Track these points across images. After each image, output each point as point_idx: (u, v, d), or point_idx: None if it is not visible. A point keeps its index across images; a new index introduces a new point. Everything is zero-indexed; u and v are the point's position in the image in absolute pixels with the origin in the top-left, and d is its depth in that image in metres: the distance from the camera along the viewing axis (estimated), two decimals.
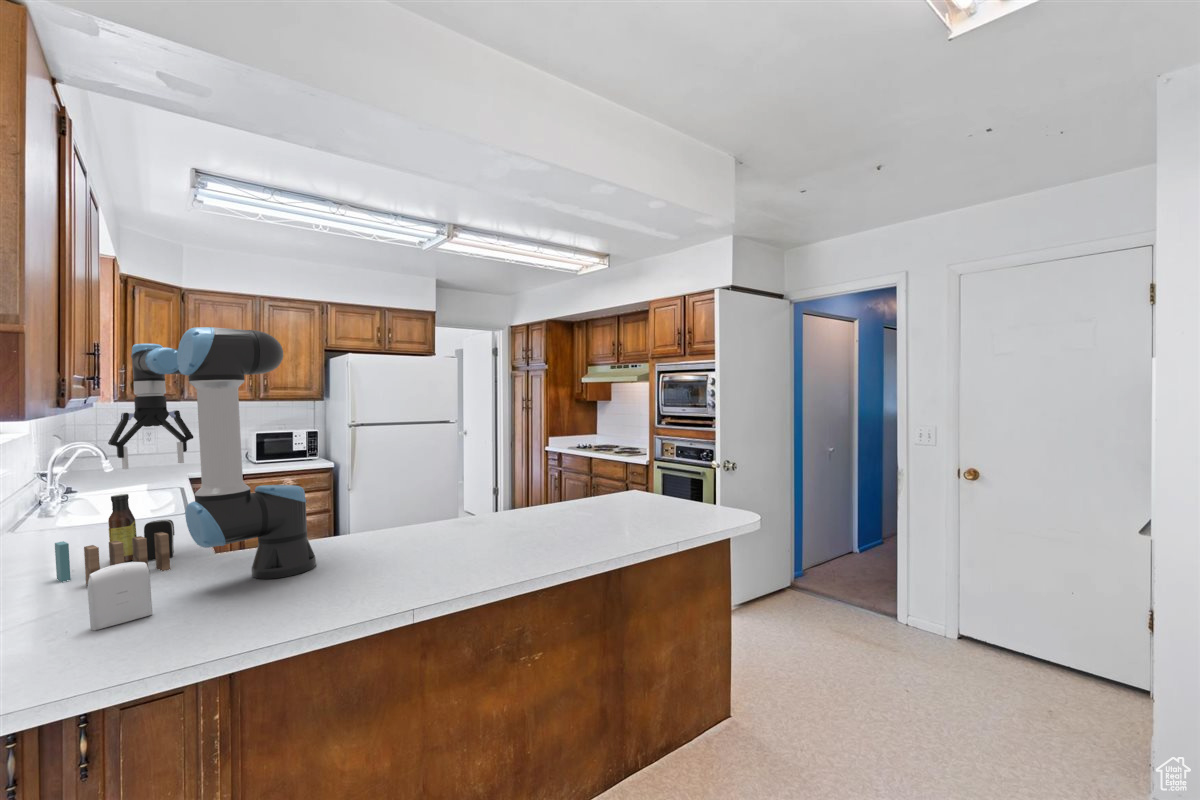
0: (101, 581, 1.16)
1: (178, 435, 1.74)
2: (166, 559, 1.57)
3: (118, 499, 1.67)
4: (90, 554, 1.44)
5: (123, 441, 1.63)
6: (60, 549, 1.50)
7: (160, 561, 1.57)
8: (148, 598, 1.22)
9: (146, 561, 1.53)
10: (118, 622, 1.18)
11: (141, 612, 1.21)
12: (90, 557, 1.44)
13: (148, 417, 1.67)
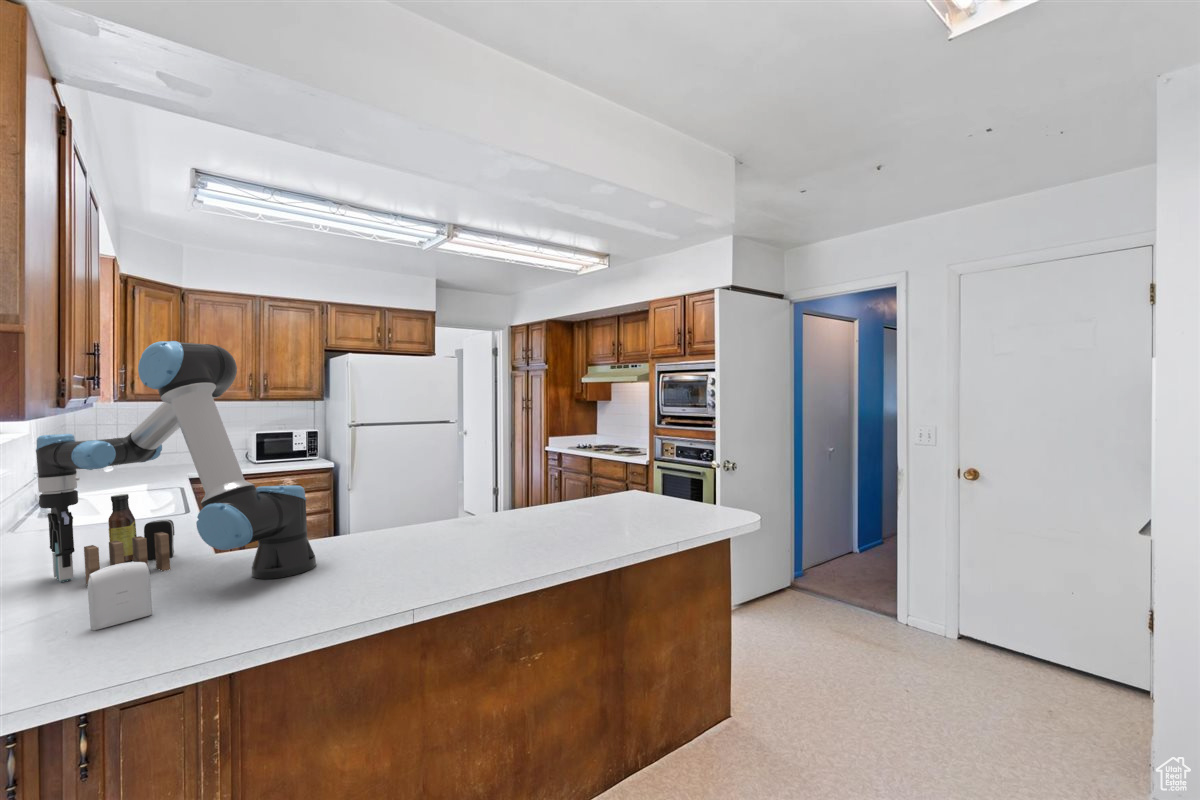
0: (101, 581, 1.16)
1: (58, 546, 1.49)
2: (166, 559, 1.57)
3: (118, 499, 1.67)
4: (90, 554, 1.44)
5: (52, 546, 1.53)
6: None
7: (160, 561, 1.57)
8: (148, 598, 1.22)
9: (146, 561, 1.53)
10: (118, 622, 1.18)
11: (141, 612, 1.21)
12: (90, 557, 1.44)
13: (48, 516, 1.51)
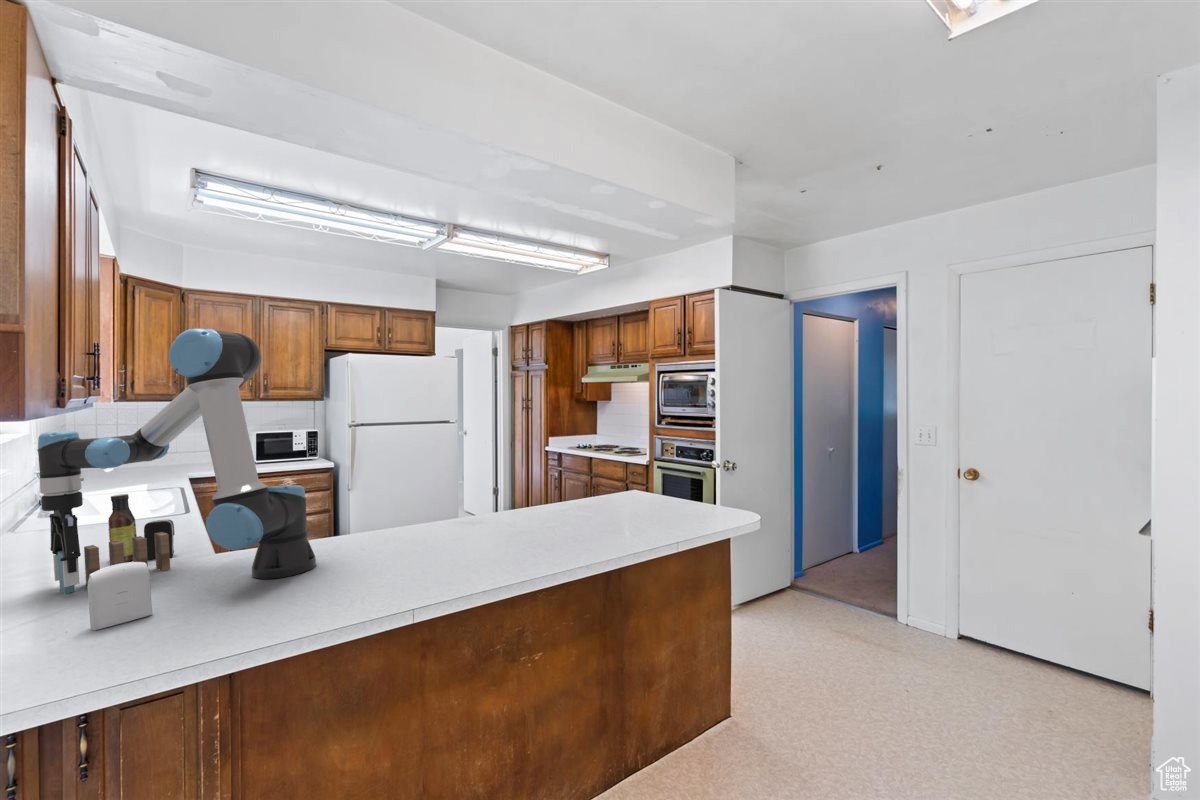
0: (101, 581, 1.16)
1: (63, 550, 1.38)
2: (166, 559, 1.57)
3: (118, 499, 1.67)
4: (90, 554, 1.44)
5: (53, 548, 1.44)
6: None
7: (160, 561, 1.57)
8: (148, 598, 1.22)
9: (146, 561, 1.53)
10: (118, 622, 1.18)
11: (141, 612, 1.21)
12: (90, 557, 1.44)
13: (51, 519, 1.41)
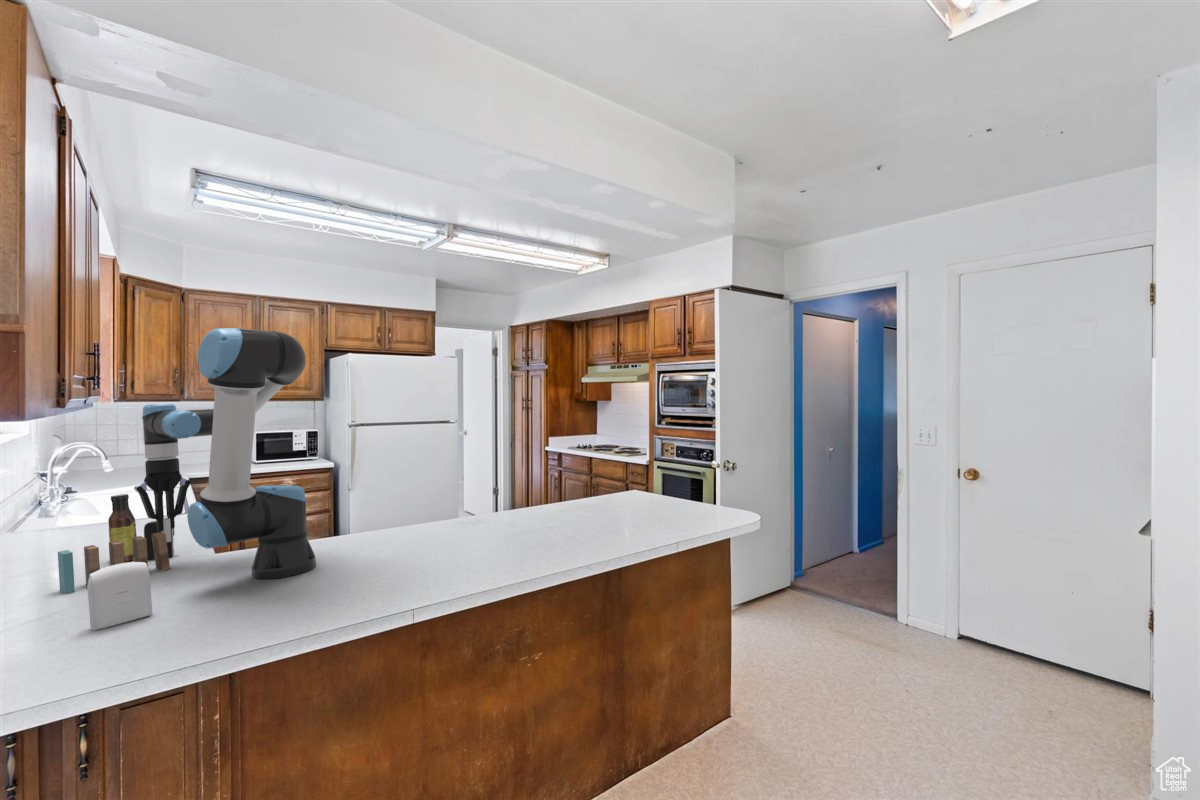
0: (101, 581, 1.16)
1: (170, 508, 1.59)
2: (165, 559, 1.57)
3: (118, 499, 1.67)
4: (90, 554, 1.44)
5: (160, 514, 1.57)
6: (63, 558, 1.40)
7: (160, 561, 1.57)
8: (148, 598, 1.22)
9: (146, 561, 1.53)
10: (118, 622, 1.18)
11: (141, 612, 1.21)
12: (90, 557, 1.44)
13: (160, 482, 1.57)
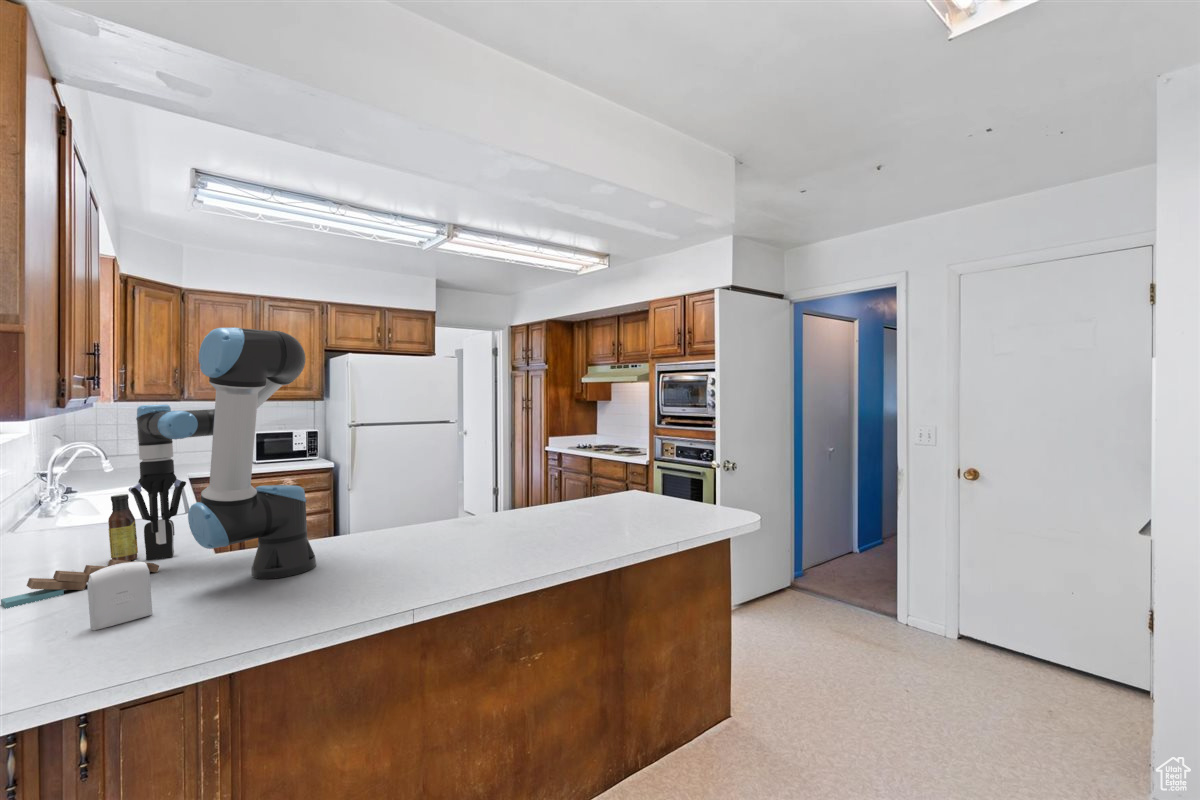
0: (101, 581, 1.16)
1: (165, 509, 1.58)
2: None
3: (118, 499, 1.67)
4: (39, 588, 1.36)
5: (154, 515, 1.56)
6: None
7: None
8: (148, 598, 1.22)
9: None
10: (118, 622, 1.18)
11: (141, 612, 1.21)
12: (43, 588, 1.37)
13: (155, 483, 1.56)
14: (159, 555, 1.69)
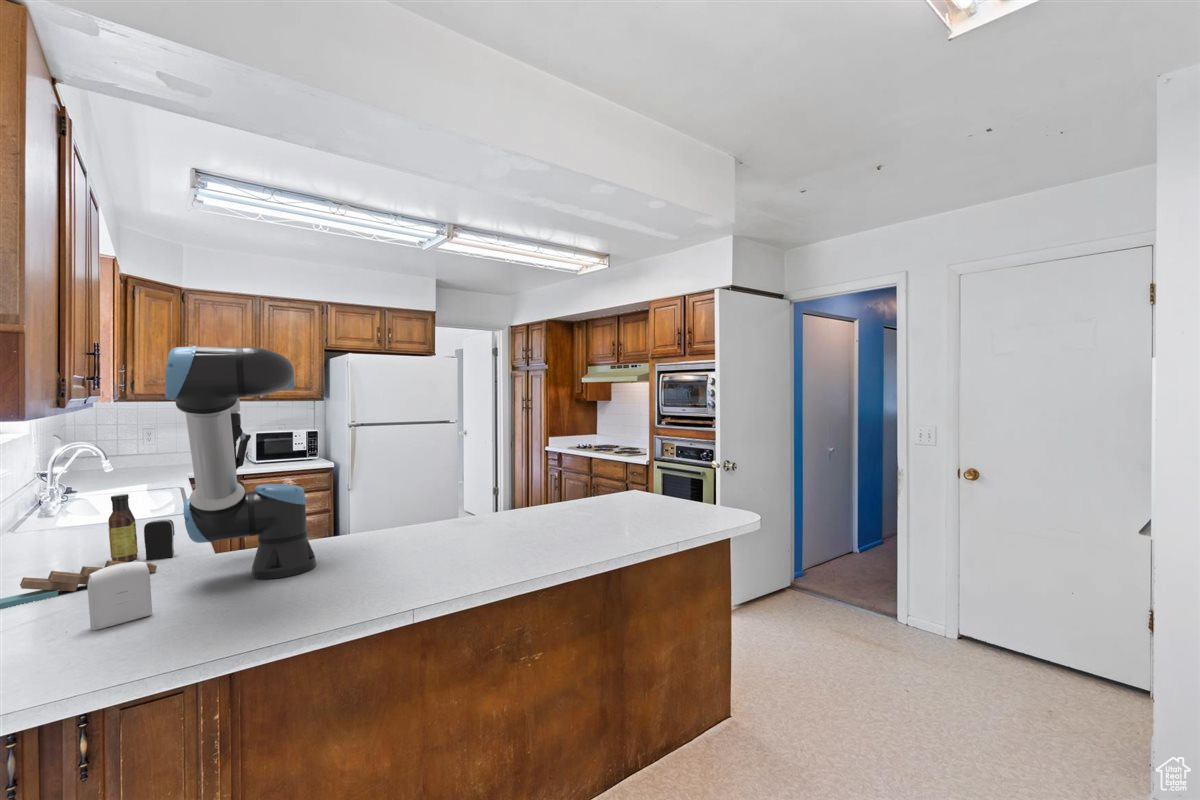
0: (101, 581, 1.16)
1: None
2: None
3: (118, 499, 1.67)
4: (29, 588, 1.36)
5: None
6: None
7: None
8: (148, 598, 1.22)
9: None
10: (118, 622, 1.18)
11: (141, 612, 1.21)
12: (33, 588, 1.36)
13: None
14: (159, 555, 1.69)
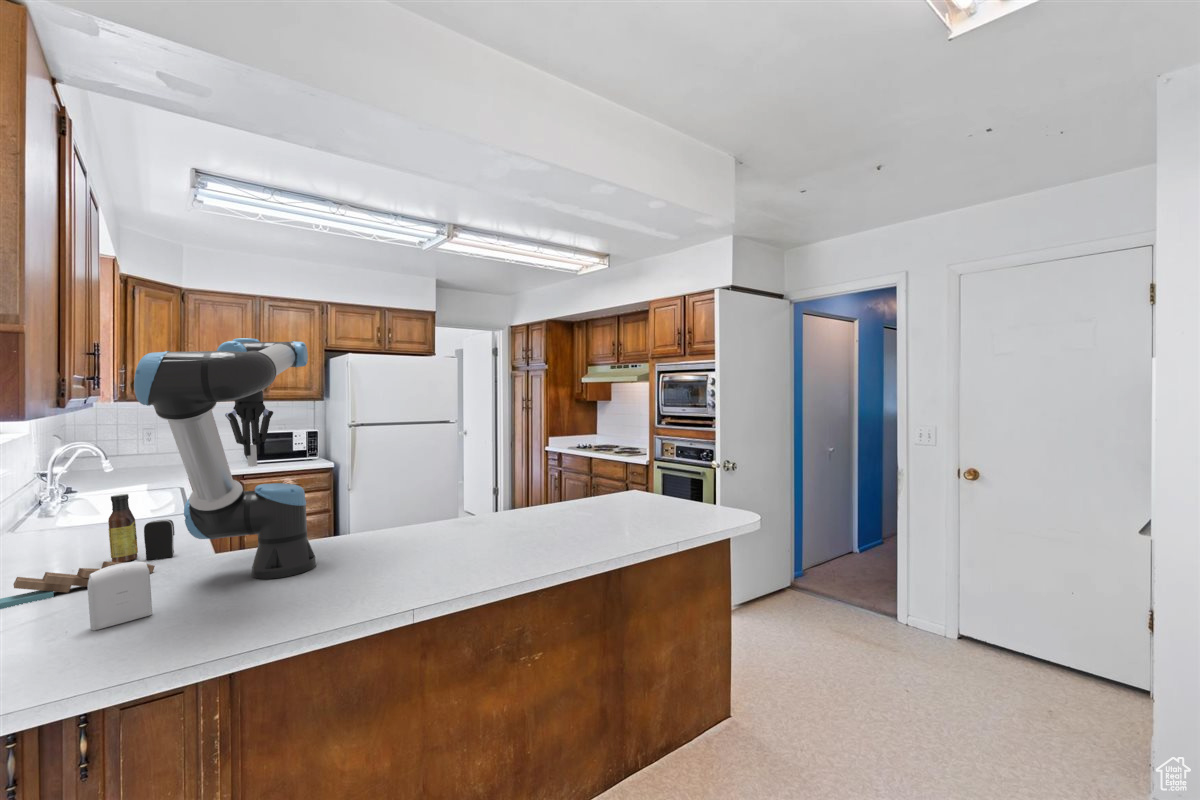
0: (101, 581, 1.16)
1: (256, 435, 1.72)
2: None
3: (118, 499, 1.67)
4: (22, 588, 1.35)
5: (247, 439, 1.70)
6: None
7: None
8: (148, 598, 1.22)
9: None
10: (118, 622, 1.18)
11: (141, 612, 1.21)
12: (26, 588, 1.35)
13: (248, 410, 1.70)
14: (159, 555, 1.69)
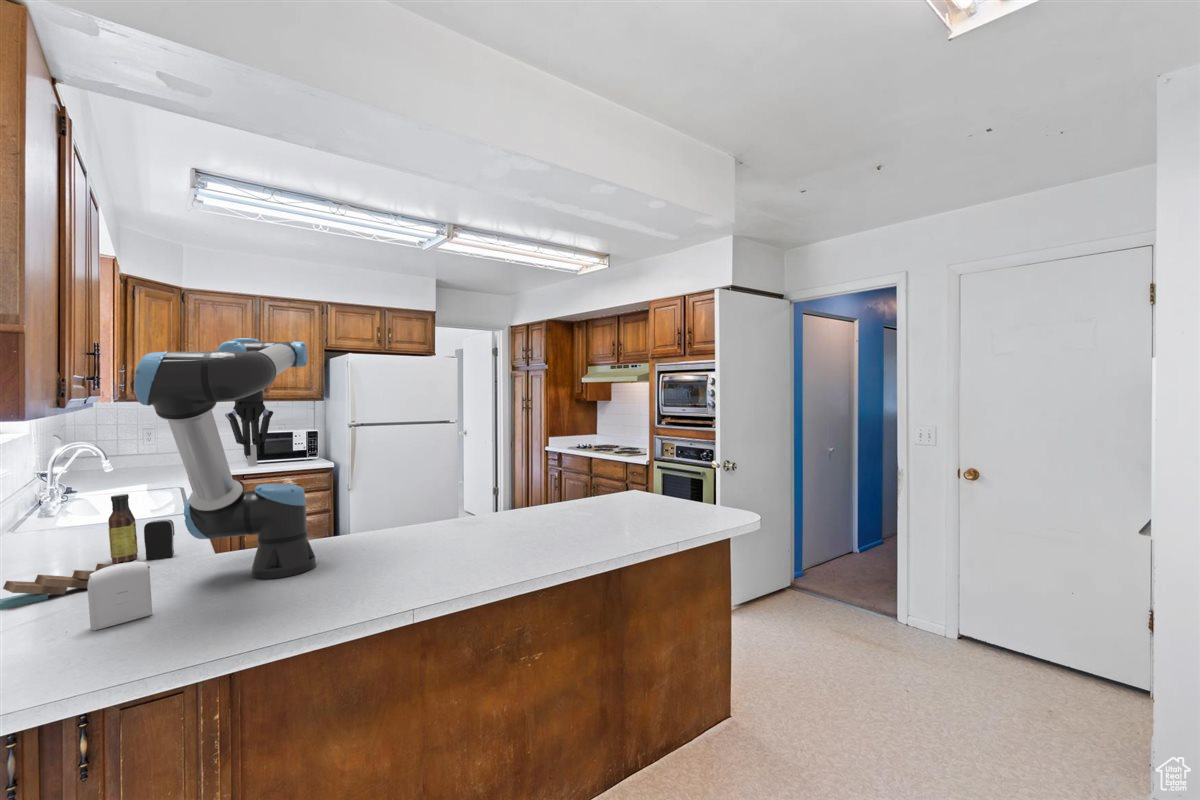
0: (101, 581, 1.16)
1: (256, 435, 1.72)
2: None
3: (118, 499, 1.67)
4: (20, 592, 1.32)
5: (247, 439, 1.70)
6: None
7: None
8: (148, 598, 1.22)
9: None
10: (118, 622, 1.18)
11: (141, 612, 1.21)
12: (24, 592, 1.32)
13: (248, 410, 1.70)
14: (159, 555, 1.69)
